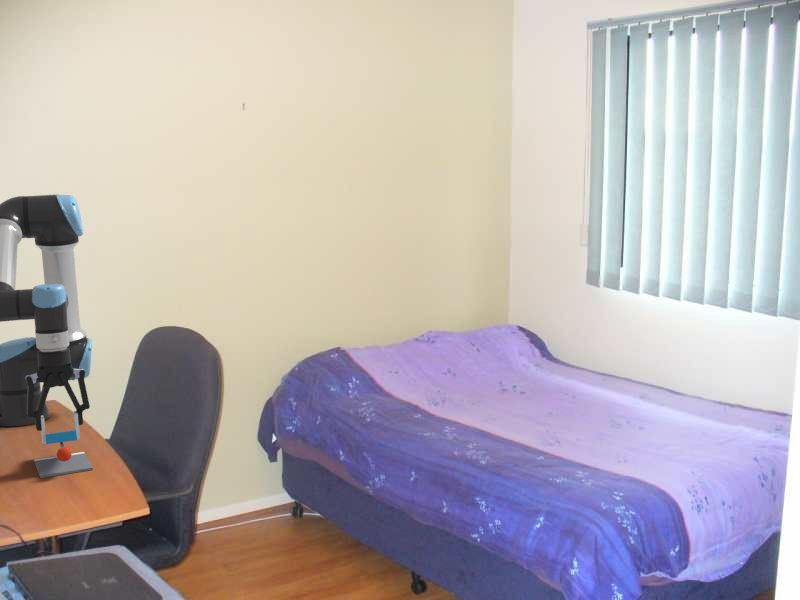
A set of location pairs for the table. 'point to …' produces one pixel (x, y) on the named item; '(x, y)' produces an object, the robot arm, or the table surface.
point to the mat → (62, 465)
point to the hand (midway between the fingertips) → (60, 440)
